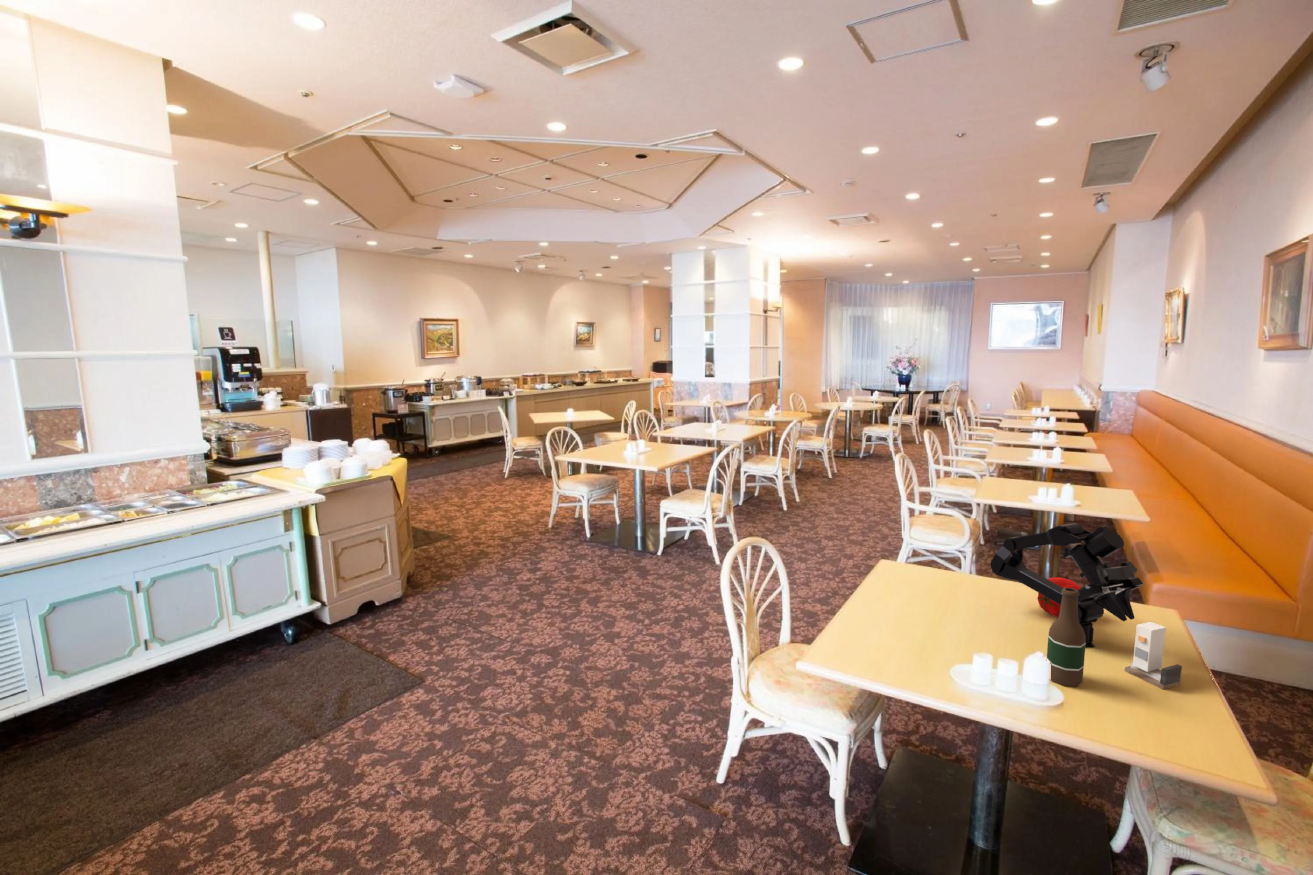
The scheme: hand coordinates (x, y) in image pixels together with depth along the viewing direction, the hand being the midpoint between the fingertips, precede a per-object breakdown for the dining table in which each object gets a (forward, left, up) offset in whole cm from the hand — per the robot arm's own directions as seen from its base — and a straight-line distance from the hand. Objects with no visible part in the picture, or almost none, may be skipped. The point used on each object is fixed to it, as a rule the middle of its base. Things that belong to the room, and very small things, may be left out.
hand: (1129, 619), depth 158 cm
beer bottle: (-20, -7, -13) cm, 25 cm away
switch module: (+2, -5, -10) cm, 12 cm away
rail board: (+2, -6, -13) cm, 14 cm away
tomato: (+1, +31, -13) cm, 33 cm away
